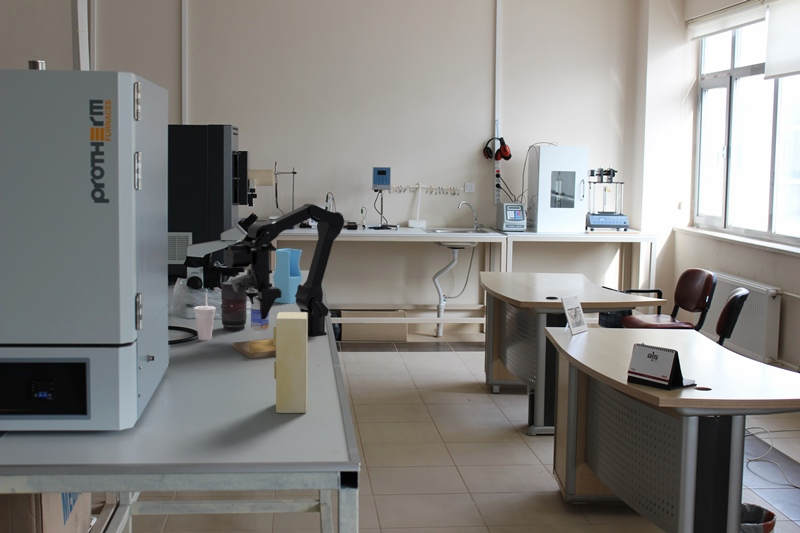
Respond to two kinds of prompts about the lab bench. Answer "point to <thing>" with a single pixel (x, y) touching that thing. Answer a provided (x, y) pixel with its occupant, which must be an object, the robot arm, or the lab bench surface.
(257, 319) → the pill bottle
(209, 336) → the smoothie
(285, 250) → the vase
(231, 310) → the camera lens
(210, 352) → the lab bench surface
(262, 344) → the shelf board
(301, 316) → the toy refrigerator
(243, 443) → the lab bench surface
